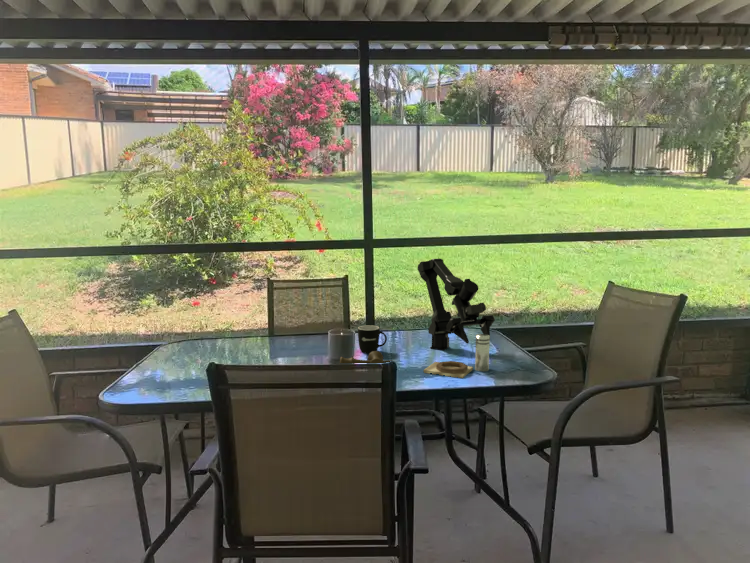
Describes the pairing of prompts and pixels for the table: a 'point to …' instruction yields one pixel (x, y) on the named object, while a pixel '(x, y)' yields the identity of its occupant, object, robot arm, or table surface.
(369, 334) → the mug
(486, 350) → the cylinder
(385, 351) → the table surface
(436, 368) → the collar
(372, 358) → the kendama
